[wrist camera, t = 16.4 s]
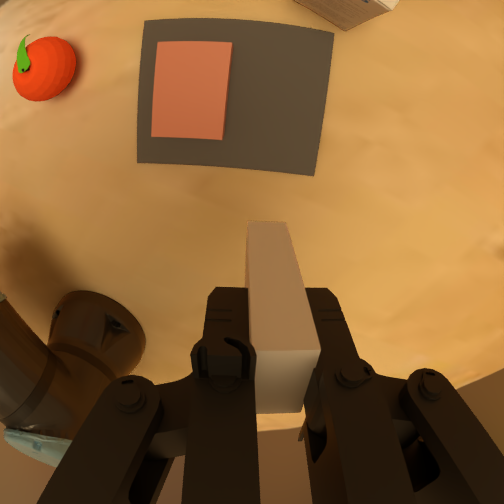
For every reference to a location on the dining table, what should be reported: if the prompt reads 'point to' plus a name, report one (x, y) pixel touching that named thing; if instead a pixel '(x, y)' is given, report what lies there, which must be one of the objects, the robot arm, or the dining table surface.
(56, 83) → the clementine
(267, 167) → the mat
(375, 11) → the light bulb box
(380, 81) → the dining table surface
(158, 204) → the dining table surface
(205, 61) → the block
